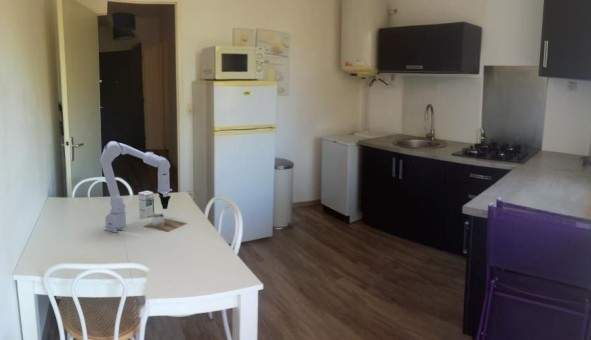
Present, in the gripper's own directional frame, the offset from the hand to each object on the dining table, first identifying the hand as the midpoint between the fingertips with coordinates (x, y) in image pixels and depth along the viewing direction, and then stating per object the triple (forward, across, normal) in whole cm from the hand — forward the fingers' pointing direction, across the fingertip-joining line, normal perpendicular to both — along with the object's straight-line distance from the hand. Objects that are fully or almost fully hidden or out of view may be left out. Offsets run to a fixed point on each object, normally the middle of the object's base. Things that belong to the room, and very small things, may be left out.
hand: (164, 206), depth 252 cm
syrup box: (+10, +13, +8) cm, 18 cm away
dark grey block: (+8, -5, +4) cm, 10 cm away
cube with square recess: (+8, -5, +4) cm, 10 cm away
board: (+10, -6, 0) cm, 11 cm away
